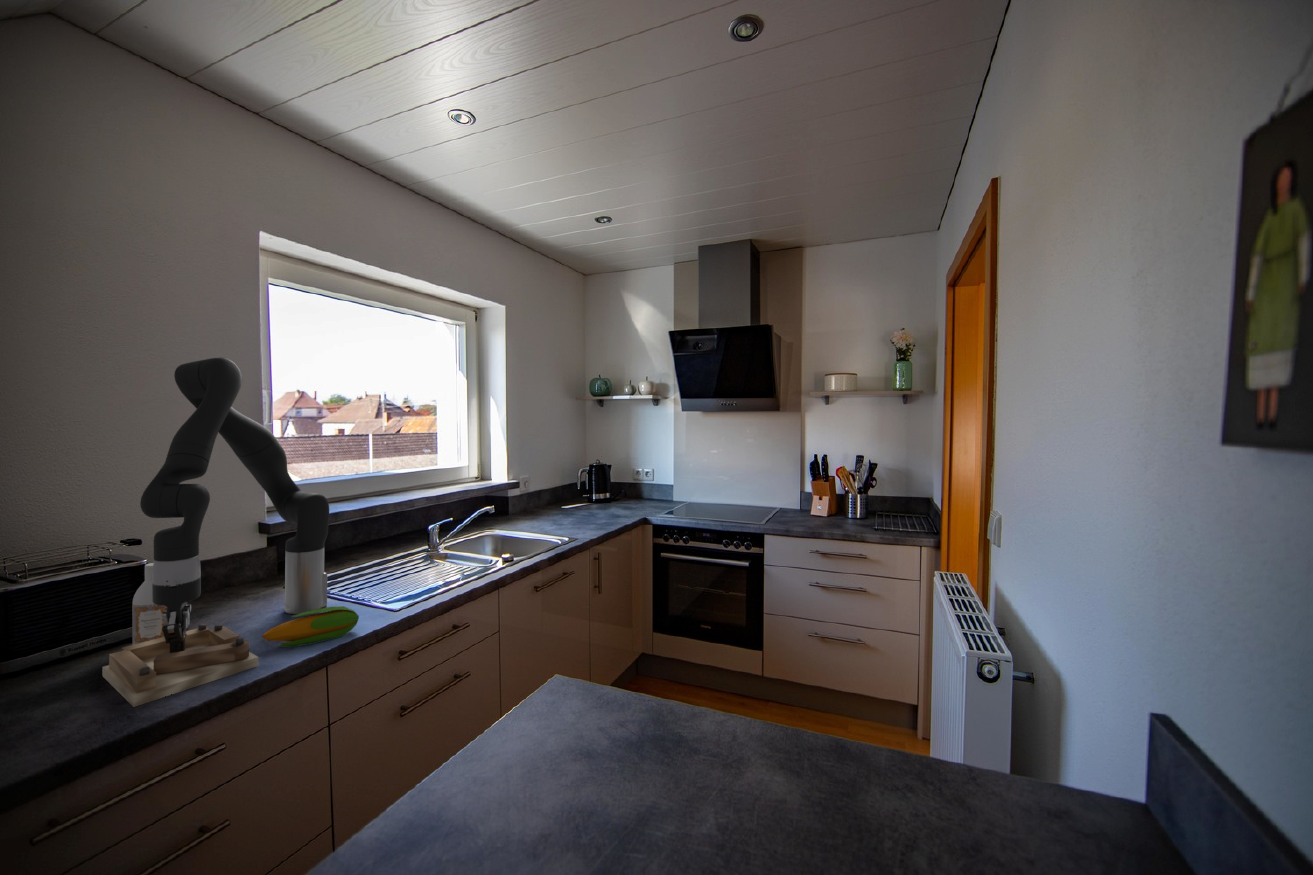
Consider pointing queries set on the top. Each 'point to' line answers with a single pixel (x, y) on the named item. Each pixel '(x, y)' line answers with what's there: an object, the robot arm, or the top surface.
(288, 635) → the corn
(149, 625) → the bath foam
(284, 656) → the top surface
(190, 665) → the brown rectangular block
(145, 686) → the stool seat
